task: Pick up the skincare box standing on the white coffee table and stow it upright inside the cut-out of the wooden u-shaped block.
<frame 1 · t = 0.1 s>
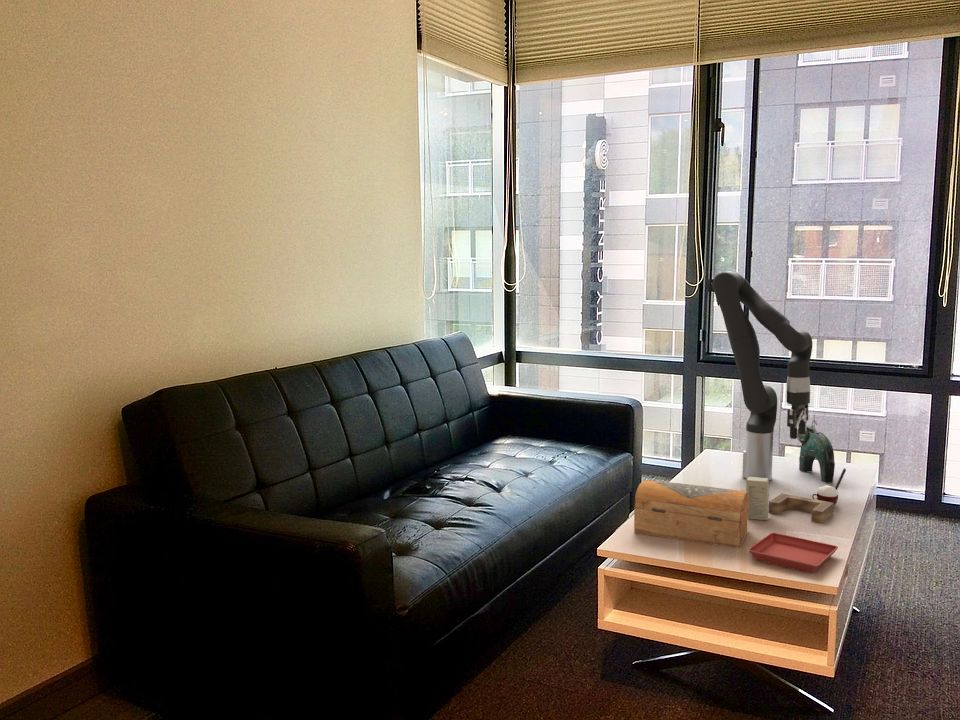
hand: (797, 436, 280), 17 cm above the table, tool pointing down, fingers open, 8 cm apart
skincare box: (756, 518, 249), on the table
wooden box: (691, 533, 237), on the table
ceramic cat: (815, 476, 294), on the table
wooden u-shaped block: (801, 512, 253), on the table
plant saucer: (792, 560, 217), on the table
cocoa: (827, 505, 260), on the table
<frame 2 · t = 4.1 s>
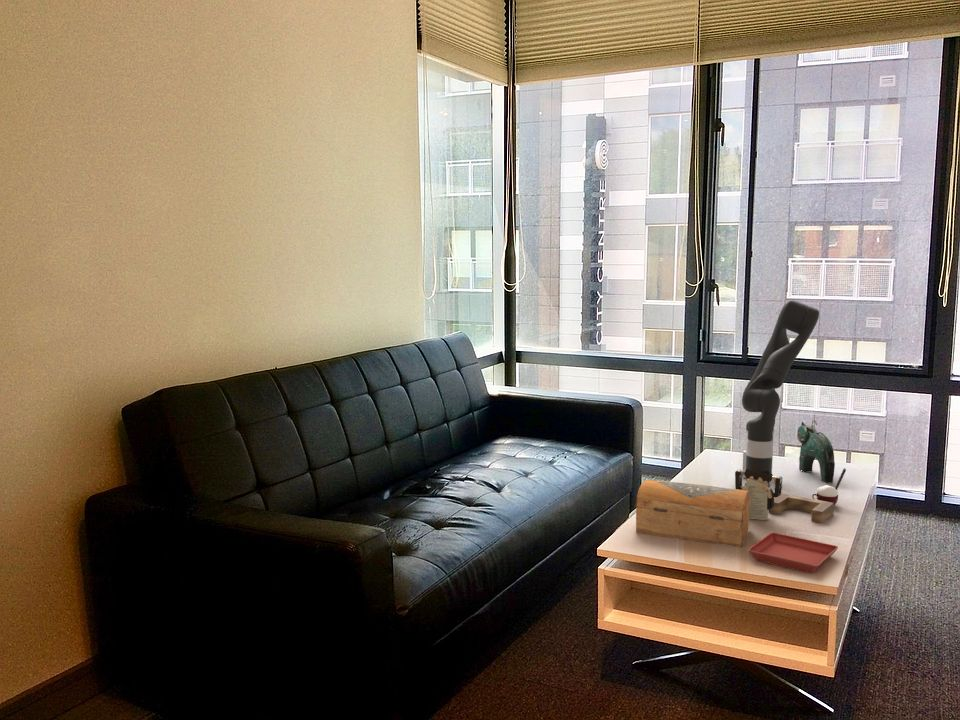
hand: (757, 506, 248), 3 cm above the table, tool pointing down, fingers closed on skincare box, 7 cm apart
skincare box: (756, 518, 249), on the table, touching gripper
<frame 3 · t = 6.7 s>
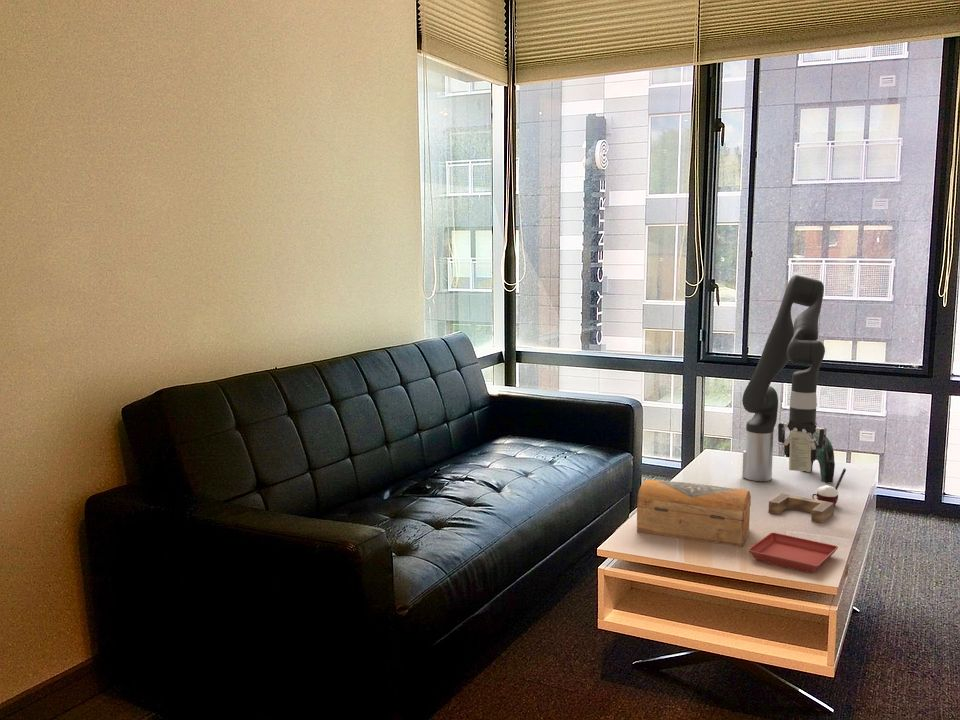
hand: (800, 458, 249), 18 cm above the table, tool pointing down, fingers closed on skincare box, 7 cm apart
skincare box: (799, 470, 250), point 14 cm above the table, touching gripper
when the fingers open (5 cm above the table, at t = 9.7 s): skincare box drops 1 cm, on the table.
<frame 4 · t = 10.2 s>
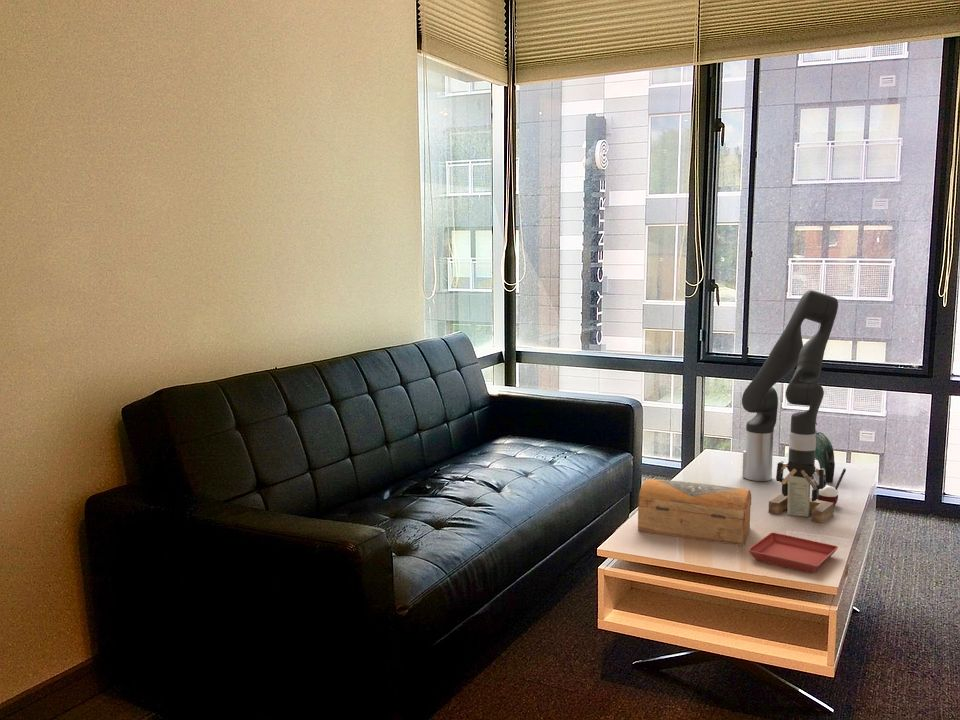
hand: (799, 498, 251), 5 cm above the table, tool pointing down, fingers open, 8 cm apart
skincare box: (797, 514, 252), on the table
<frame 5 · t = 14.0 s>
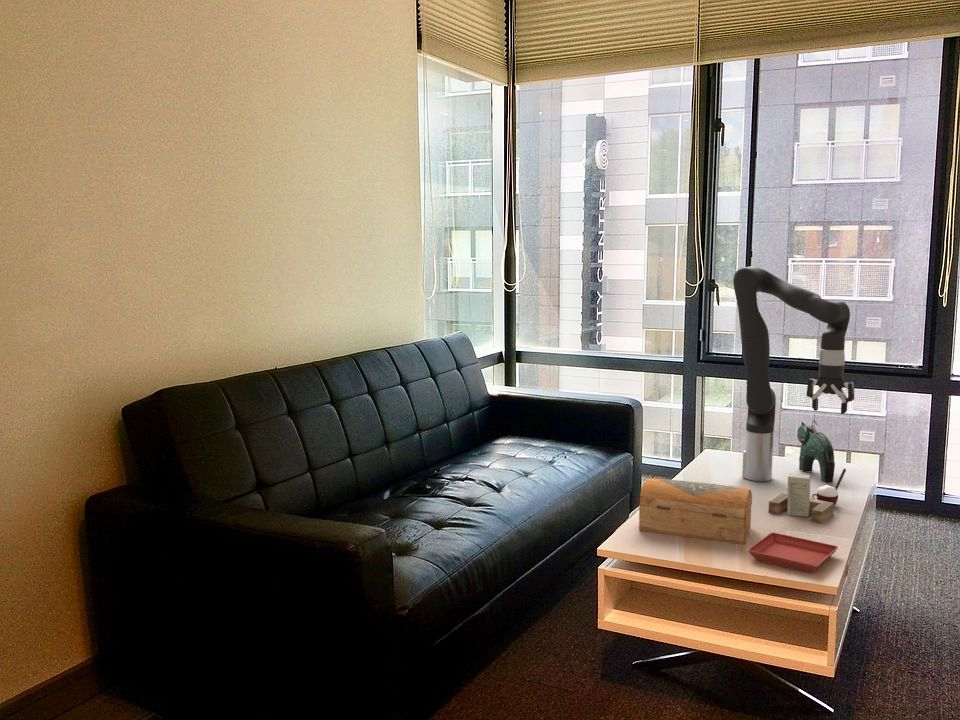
hand: (829, 412, 267), 28 cm above the table, tool pointing down, fingers open, 8 cm apart
at the end: skincare box inside the target area on the wooden u-shaped block (0.5 cm from its centre), point 0.0 cm above the wooden u-shaped block's base; skincare box tilted 0°; the gripper is holding nothing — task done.
